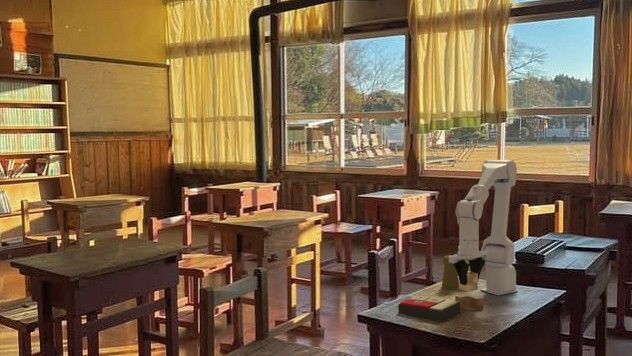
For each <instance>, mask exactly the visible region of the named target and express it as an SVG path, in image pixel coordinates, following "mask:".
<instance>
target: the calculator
mask: <svg viewBox="0 0 632 356" xmlns="http://www.w3.org/2000/svg"><path fill="white" fill-rule="evenodd" d="M397 305H398V306H397V307H398V314H401V315H406V316H410V317H415V318H422V319H425V320H427V319H428V320H429V321H434V322H437V321H438V322H439V323H444V322H446V321H449V320H450V319H453V318H454V317H457V316H458V315H460V314H461V308H460V302H458V301H455V300H451V299H446V298H440V297H435V296H434V297H431V296H424V295H415V296H412V297H410V298H408V299H406V300H403V301H400V303H398V304H397Z"/></svg>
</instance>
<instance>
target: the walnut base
mask: <svg viewBox="0 0 632 356" xmlns="http://www.w3.org/2000/svg"><path fill="white" fill-rule="evenodd" d="M454 298H455V299H454V301H458V302H460V310H461V309H462V310H464V311H466V312H470V311H475V310H476V311H477V310H481V309H484V297H483V296H481V295H480V296H479V295H476V294H475V293H471V292H470V293H463V294H457V295H455V296H454Z"/></svg>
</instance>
